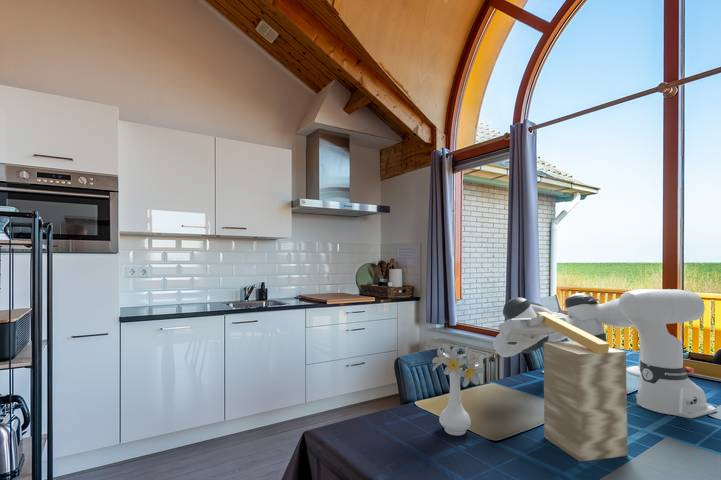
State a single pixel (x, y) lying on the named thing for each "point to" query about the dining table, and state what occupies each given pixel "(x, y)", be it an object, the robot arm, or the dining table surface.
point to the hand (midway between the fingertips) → (549, 317)
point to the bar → (575, 333)
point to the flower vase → (457, 386)
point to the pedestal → (585, 400)
